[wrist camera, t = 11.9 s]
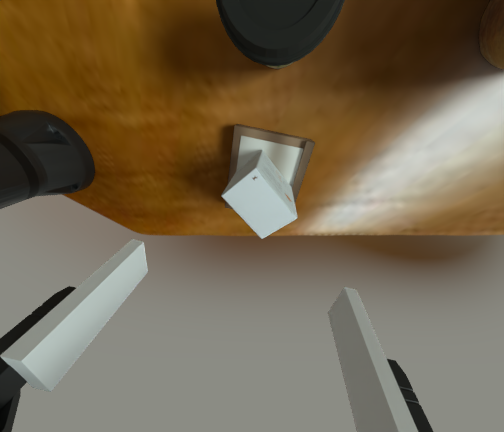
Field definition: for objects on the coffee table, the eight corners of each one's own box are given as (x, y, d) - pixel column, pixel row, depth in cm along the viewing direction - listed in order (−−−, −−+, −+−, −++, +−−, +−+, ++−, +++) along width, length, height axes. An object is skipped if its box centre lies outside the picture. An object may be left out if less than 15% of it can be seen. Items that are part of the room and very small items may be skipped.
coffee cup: (276, 101, 28) (275, 93, 15) (228, 42, 26) (176, -27, 13) (334, 36, 24) (398, -51, 11) (283, -42, 21) (289, -273, 9)
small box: (236, 170, 31) (218, 195, 22) (262, 148, 29) (255, 165, 20) (266, 205, 33) (261, 241, 24) (292, 187, 31) (298, 219, 22)
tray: (228, 200, 37) (223, 209, 34) (238, 124, 30) (233, 125, 27) (287, 213, 37) (288, 223, 34) (311, 139, 30) (315, 142, 27)
